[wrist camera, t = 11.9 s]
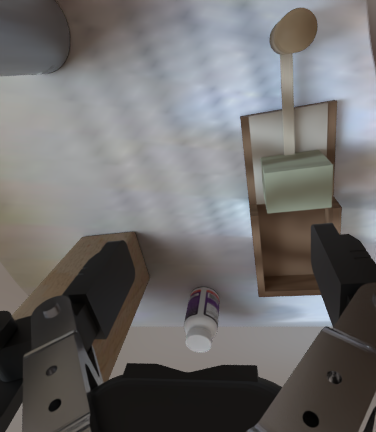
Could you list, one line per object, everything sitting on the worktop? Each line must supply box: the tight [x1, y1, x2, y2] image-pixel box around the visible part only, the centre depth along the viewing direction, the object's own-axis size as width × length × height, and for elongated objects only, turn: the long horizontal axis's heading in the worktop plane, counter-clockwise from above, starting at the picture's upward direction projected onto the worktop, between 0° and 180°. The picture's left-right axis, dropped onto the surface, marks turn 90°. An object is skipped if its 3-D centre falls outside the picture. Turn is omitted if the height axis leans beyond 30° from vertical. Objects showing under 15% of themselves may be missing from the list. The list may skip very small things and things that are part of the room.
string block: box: [261, 8, 333, 214], centre depth 31 cm, size 19×7×7 cm, turn 11°
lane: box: [240, 100, 342, 297], centre depth 39 cm, size 26×11×4 cm, turn 11°
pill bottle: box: [184, 287, 219, 353], centre depth 47 cm, size 5×5×10 cm
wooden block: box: [12, 232, 150, 382], centre depth 41 cm, size 10×10×20 cm
